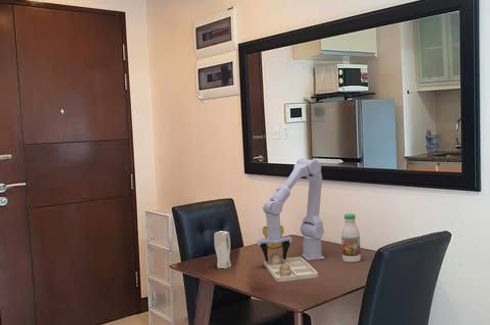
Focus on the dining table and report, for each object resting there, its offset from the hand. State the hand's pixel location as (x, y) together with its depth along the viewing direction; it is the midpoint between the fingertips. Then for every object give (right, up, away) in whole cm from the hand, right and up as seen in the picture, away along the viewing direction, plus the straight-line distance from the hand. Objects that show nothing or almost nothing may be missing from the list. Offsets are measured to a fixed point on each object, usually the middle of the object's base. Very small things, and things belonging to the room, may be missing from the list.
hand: (275, 260), depth 219 cm
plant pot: (+1, 0, +35) cm, 35 cm away
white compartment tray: (+5, -4, -7) cm, 9 cm away
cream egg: (0, -3, 0) cm, 3 cm away
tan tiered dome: (+3, -4, -15) cm, 16 cm away
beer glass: (-22, -4, +7) cm, 24 cm away
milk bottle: (+33, -1, +4) cm, 33 cm away
